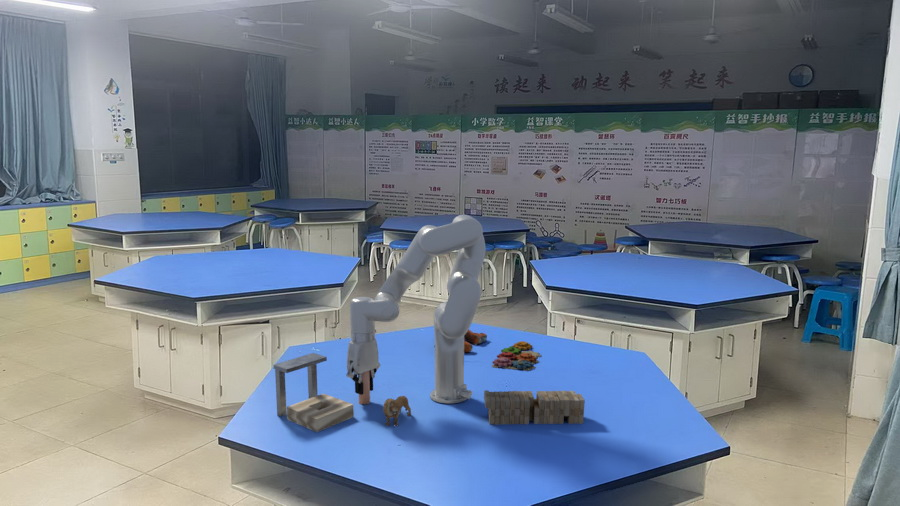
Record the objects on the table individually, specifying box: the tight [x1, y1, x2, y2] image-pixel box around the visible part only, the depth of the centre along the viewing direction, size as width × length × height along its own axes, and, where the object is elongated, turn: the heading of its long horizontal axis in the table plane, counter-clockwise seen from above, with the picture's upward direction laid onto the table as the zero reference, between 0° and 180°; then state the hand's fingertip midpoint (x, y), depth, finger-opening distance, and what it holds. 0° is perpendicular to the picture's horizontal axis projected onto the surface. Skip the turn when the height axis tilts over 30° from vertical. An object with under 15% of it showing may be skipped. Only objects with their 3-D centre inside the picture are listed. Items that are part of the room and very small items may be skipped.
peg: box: [358, 371, 371, 405], centre depth 206 cm, size 4×4×11 cm
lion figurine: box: [382, 395, 412, 427], centre depth 192 cm, size 15×5×9 cm, turn 163°
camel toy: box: [434, 329, 488, 353], centre depth 266 cm, size 25×13×17 cm
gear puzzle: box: [491, 340, 542, 372], centre depth 253 cm, size 31×16×4 cm, turn 163°
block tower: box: [483, 389, 586, 426], centre depth 194 cm, size 8×8×29 cm
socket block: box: [286, 393, 355, 433], centre depth 195 cm, size 14×14×4 cm
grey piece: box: [273, 352, 328, 418], centre depth 199 cm, size 6×15×16 cm, turn 140°
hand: (364, 391), depth 207 cm, fingers closed on peg, 3 cm apart
